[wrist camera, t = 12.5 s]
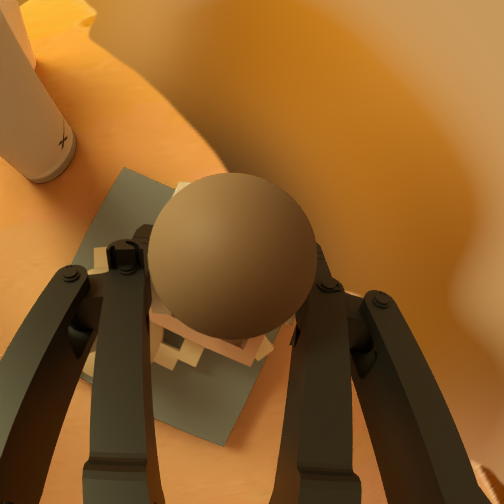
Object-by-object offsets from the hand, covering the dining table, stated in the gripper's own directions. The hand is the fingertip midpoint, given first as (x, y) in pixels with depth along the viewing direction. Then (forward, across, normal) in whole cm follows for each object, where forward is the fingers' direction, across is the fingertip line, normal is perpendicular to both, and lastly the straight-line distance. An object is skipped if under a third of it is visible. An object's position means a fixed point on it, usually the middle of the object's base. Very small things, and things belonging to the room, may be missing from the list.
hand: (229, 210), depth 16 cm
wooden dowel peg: (0, 0, -5) cm, 5 cm away
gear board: (+2, -4, -9) cm, 10 cm away
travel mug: (+11, -17, -1) cm, 21 cm away
